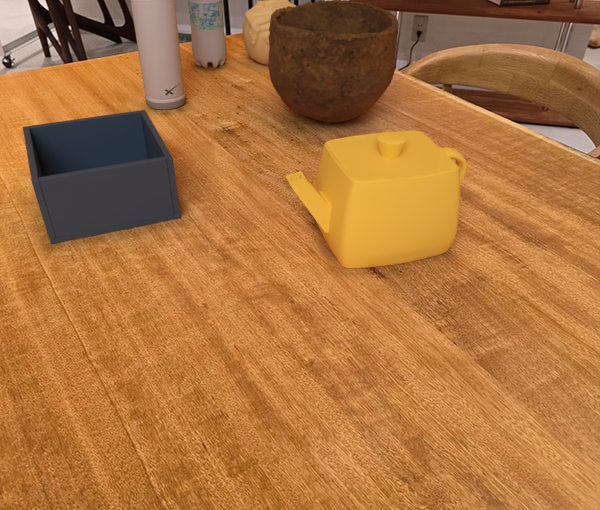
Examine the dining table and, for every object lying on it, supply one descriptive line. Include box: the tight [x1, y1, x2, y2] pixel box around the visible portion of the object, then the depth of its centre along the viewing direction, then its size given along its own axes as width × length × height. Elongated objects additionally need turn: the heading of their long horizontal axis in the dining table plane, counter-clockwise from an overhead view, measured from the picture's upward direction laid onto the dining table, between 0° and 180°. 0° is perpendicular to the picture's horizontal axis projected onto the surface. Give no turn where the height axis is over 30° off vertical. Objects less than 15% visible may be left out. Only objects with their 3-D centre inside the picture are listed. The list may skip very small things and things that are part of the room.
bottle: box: [187, 0, 227, 69], centre depth 104 cm, size 7×7×20 cm
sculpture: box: [241, 0, 297, 66], centre depth 109 cm, size 11×12×11 cm
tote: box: [22, 109, 182, 245], centre depth 69 cm, size 14×14×8 cm
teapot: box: [284, 130, 468, 269], centre depth 62 cm, size 20×12×12 cm, turn 106°
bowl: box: [267, 0, 400, 123], centre depth 87 cm, size 19×19×15 cm
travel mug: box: [130, 0, 186, 111], centre depth 89 cm, size 6×7×20 cm
